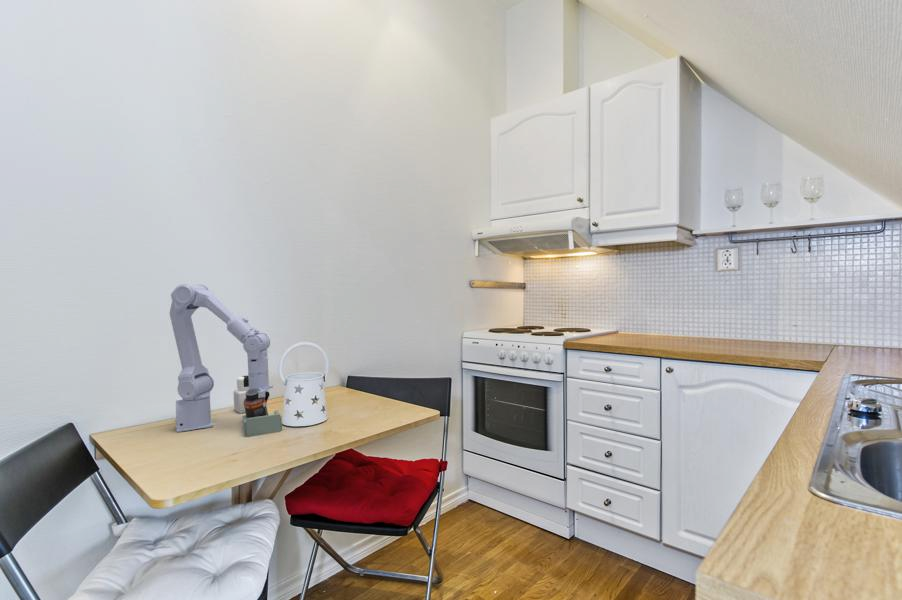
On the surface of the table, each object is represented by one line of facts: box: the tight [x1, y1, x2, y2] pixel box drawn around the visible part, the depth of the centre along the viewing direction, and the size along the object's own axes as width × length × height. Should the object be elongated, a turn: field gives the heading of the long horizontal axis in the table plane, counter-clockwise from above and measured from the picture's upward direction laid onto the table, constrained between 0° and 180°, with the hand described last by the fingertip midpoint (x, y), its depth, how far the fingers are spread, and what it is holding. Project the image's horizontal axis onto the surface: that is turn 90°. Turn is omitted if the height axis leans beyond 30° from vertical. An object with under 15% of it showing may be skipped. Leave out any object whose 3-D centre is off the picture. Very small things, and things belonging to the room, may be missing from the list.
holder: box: [242, 410, 283, 438], centre depth 134 cm, size 10×10×5 cm
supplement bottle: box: [244, 388, 269, 418], centre depth 135 cm, size 6×6×11 cm
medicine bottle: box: [233, 375, 249, 415], centre depth 158 cm, size 7×7×12 cm
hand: (260, 416), depth 139 cm, fingers closed, pressing on supplement bottle
